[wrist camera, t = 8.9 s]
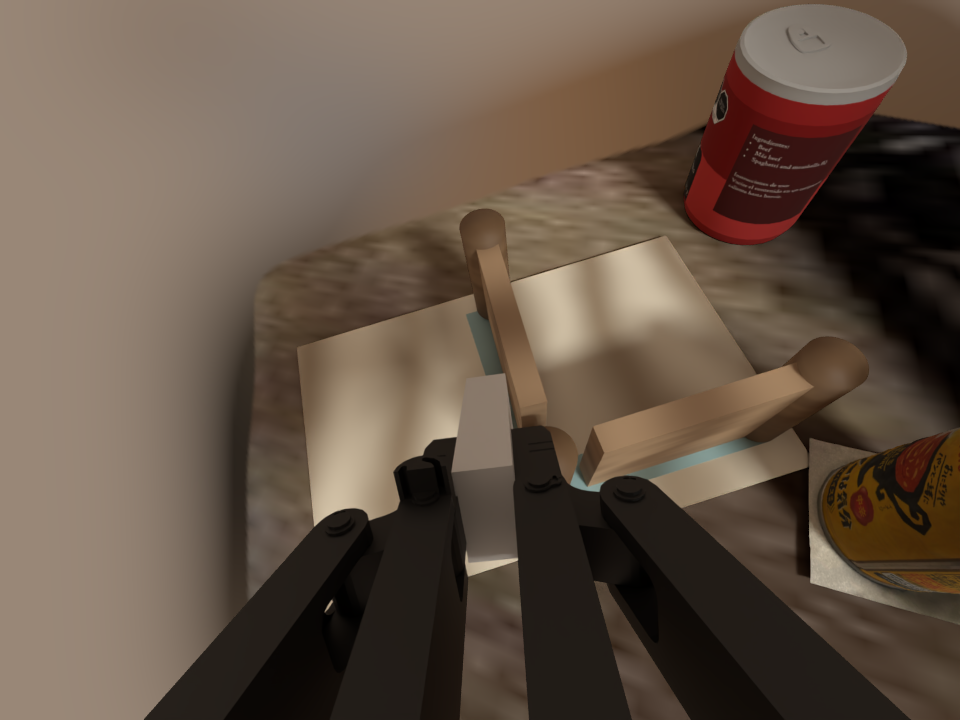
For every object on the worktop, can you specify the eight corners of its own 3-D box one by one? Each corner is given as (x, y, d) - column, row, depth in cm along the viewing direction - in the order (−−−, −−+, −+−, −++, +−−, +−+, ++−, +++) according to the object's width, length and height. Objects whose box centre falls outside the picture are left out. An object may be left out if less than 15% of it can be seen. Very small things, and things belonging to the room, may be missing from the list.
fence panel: (555, 444, 25) (561, 393, 19) (513, 454, 25) (505, 407, 19) (507, 287, 31) (498, 204, 24) (473, 295, 31) (455, 214, 24)
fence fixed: (531, 517, 24) (529, 490, 17) (517, 474, 25) (510, 433, 18) (788, 435, 24) (882, 378, 18) (763, 396, 26) (843, 329, 19)
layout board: (664, 239, 32) (666, 235, 31) (811, 466, 24) (816, 464, 24) (299, 349, 31) (296, 346, 31) (327, 621, 23) (323, 622, 23)
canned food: (738, 154, 35) (816, -14, 25) (821, 218, 31) (950, 50, 21) (656, 195, 34) (705, 37, 24) (732, 265, 30) (826, 113, 20)
